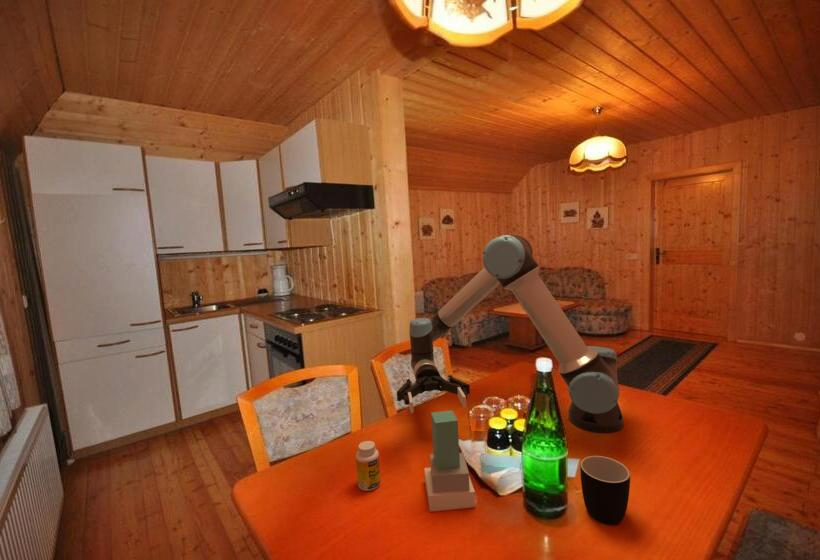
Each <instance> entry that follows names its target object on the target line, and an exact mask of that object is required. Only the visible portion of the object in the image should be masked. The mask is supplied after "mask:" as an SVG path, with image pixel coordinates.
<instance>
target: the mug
mask: <svg viewBox="0 0 820 560" xmlns="http://www.w3.org/2000/svg"><path fill="white" fill-rule="evenodd" d="M580 482H581V483H580V484H581V492H582V497H583V503H584V507H585V509H586V511H587V513H588V515H589V516H590V518H592V519H593V520H594V521H596V522H598V523H600V524H602V525H605V526H617V525H620V523H621V522H623V520H624V519H625V516H626V513H627V510H628V505H629V496H630V490H631V489H630V487H631V473H630V470H629V469H628V468H627V467H626V466H625V465H624V464H623V463H622V462H620V461H618V460H616V459H613V458H611V457H607V456H601V455H590V456H586V457H584V458H583V459H582V460H581V462H580Z"/></svg>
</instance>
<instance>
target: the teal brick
mask: <svg viewBox="0 0 820 560" xmlns="http://www.w3.org/2000/svg"><path fill="white" fill-rule="evenodd" d="M430 414H431V415H430V417H431V430H432V431H431V432H432V434H431V436H432V446H433V447H432V449H433V450H432V451H433V454H434V460H435V463H436V466H437V469H438V470H444V469H452V468H459V467H460V457H459V453H460V441H459V440H460V439H459V423H458V422H459V421H458V419H457V417H456V415H455V413H454V411H453V410H445V411H444V410H443V411H442V410H441V411H436V412H435V411H434V412H430Z"/></svg>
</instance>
